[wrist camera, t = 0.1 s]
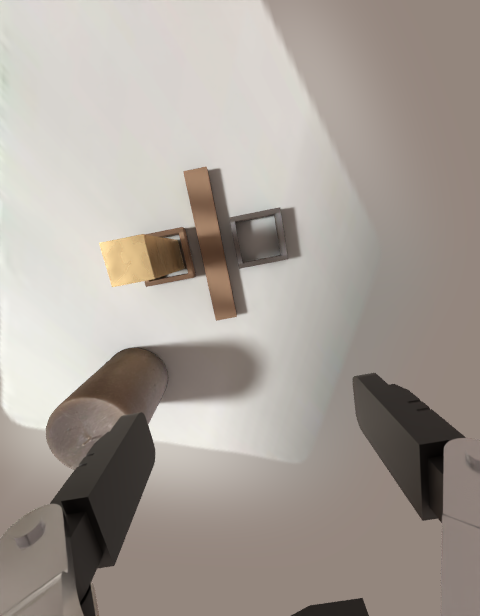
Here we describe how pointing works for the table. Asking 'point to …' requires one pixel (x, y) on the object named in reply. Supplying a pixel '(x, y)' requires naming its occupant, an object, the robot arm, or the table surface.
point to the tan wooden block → (140, 258)
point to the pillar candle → (106, 403)
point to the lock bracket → (215, 243)
